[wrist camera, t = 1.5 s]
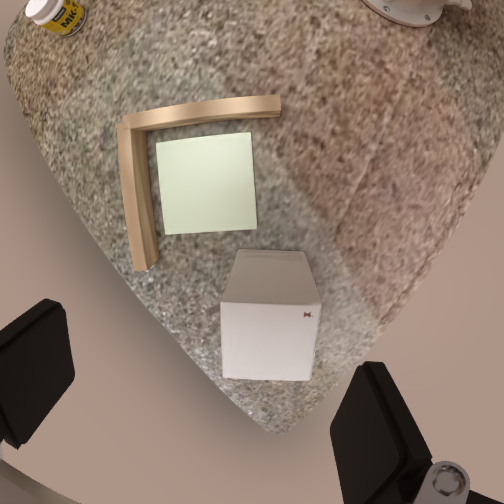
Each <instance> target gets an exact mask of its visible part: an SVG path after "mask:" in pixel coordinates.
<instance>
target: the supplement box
mask: <svg viewBox="0 0 504 504" xmlns="http://www.w3.org/2000/svg"><path fill="white" fill-rule="evenodd" d="M321 310H322V302H321V299H320V296H319V293H318V290H317V287H316V284H315V281H314V278H313V275H312V272H311V269H310V266H309V264H308V261H307V258H306V255H305V252H303V251H281V250H254V249H239V250H238V251H237V254H236V257H235V260H234V263H233V266H232V269H231V272H230V276H229V279H228V282H227V285H226V288H225V291H224V294H223V297H222V300H221V302H220V326H221V352H222V371H223V377H224V378H235V379H253V380H285V381H310V379H311V375H312V369H313V363H314V357H315V350H316V346H317V337H318V330H319V323H320V317H321Z"/></svg>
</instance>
